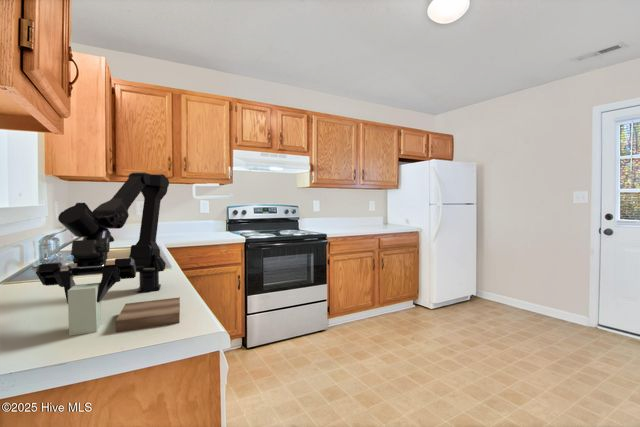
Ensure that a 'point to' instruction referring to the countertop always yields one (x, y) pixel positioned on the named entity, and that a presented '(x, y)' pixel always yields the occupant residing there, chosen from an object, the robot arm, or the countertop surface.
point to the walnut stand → (148, 314)
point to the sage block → (84, 309)
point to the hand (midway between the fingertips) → (83, 302)
